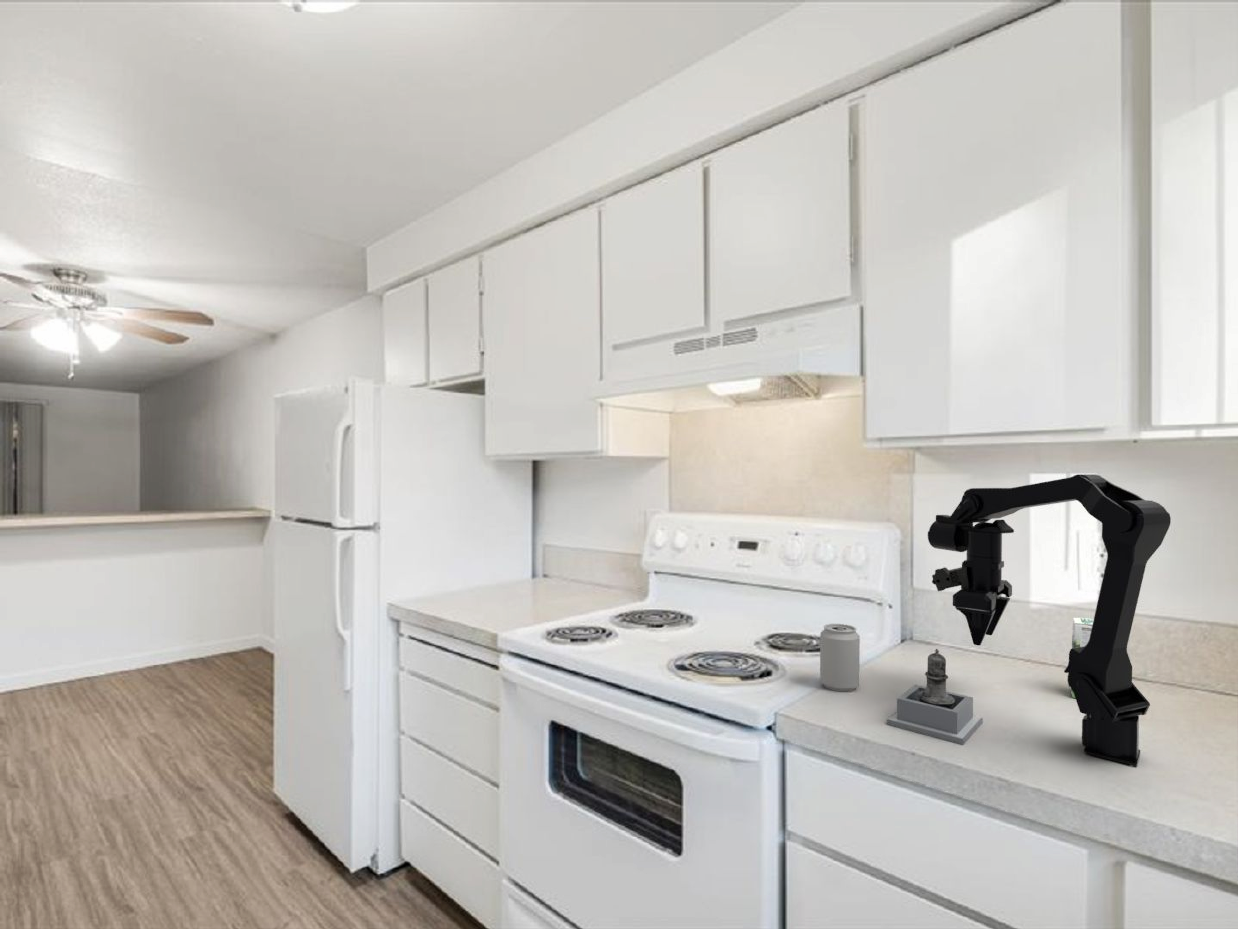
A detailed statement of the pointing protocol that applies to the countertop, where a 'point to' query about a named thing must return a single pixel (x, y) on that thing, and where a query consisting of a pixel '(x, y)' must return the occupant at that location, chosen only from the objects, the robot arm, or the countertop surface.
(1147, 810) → the countertop surface
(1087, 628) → the syrup box
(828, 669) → the can
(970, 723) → the dock
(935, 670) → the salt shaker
